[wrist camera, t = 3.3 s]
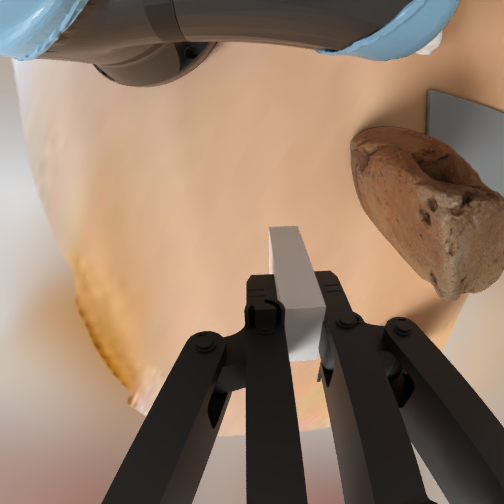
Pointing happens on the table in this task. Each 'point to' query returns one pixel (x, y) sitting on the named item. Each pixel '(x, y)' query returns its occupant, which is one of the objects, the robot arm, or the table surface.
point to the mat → (470, 134)
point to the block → (430, 208)
